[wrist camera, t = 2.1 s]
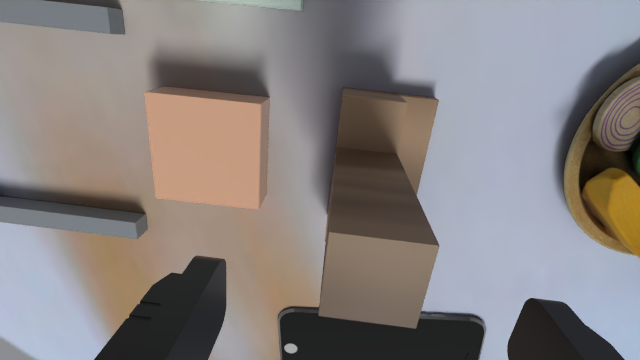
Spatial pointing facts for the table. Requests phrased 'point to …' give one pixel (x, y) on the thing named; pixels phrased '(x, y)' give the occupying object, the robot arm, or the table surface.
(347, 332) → the smartphone
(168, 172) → the tile
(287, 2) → the board
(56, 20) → the bay
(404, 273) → the brown block
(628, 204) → the toy sandwich meal
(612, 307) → the table surface
